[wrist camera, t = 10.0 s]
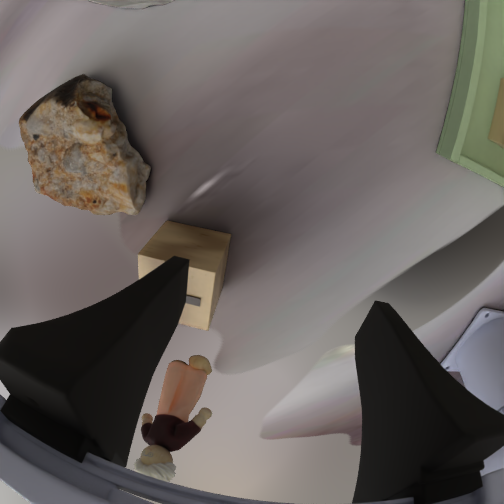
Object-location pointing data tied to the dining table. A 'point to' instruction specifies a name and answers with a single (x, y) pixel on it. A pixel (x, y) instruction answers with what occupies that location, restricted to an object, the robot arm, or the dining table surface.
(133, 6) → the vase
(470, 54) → the tray
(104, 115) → the rock
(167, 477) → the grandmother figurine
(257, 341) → the dining table surface
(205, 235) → the wooden i block
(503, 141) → the wooden h block
